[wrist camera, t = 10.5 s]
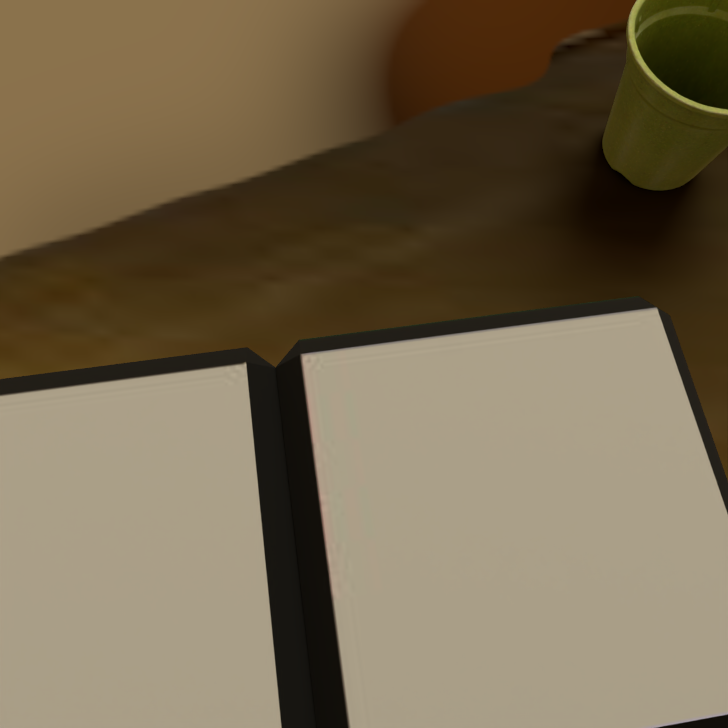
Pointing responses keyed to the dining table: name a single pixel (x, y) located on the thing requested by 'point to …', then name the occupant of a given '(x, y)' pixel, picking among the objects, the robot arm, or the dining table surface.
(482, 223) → the dining table surface
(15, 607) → the puzzle cube
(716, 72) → the plant pot
